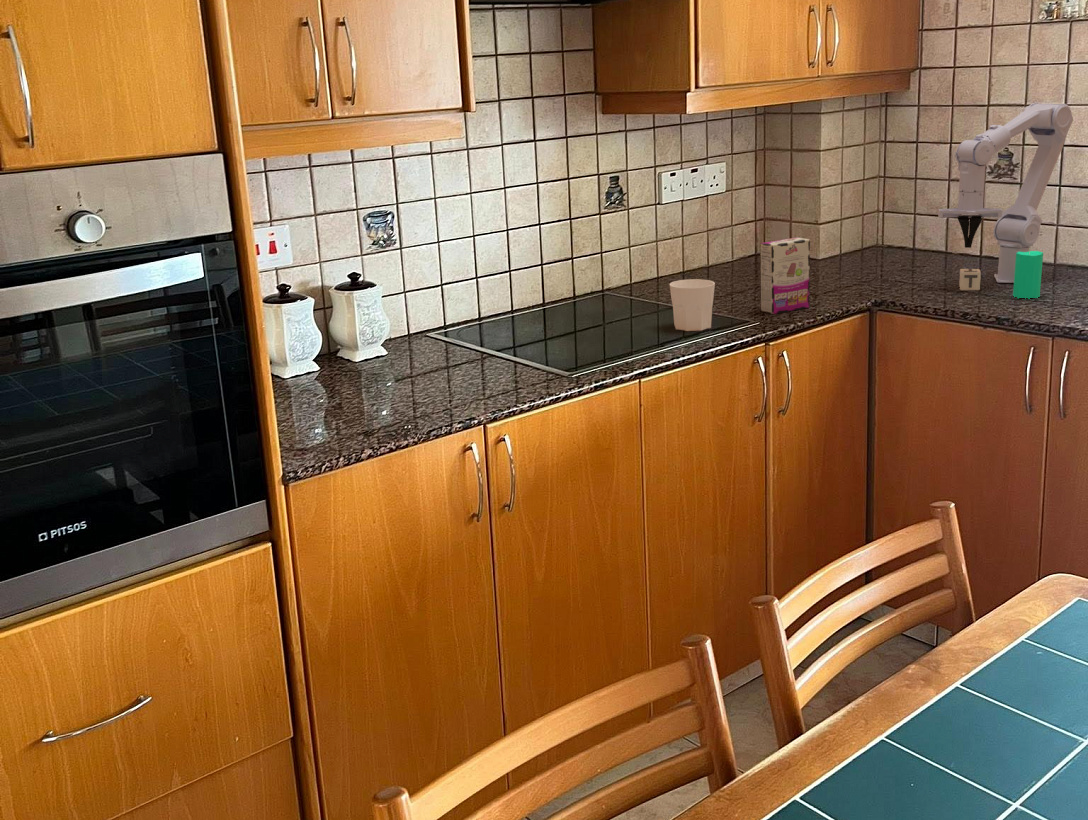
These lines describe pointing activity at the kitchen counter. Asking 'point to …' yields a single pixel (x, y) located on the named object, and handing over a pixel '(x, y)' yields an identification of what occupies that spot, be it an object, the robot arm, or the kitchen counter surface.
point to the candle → (1028, 274)
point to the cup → (692, 303)
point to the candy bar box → (785, 275)
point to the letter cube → (969, 279)
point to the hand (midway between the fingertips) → (967, 247)
